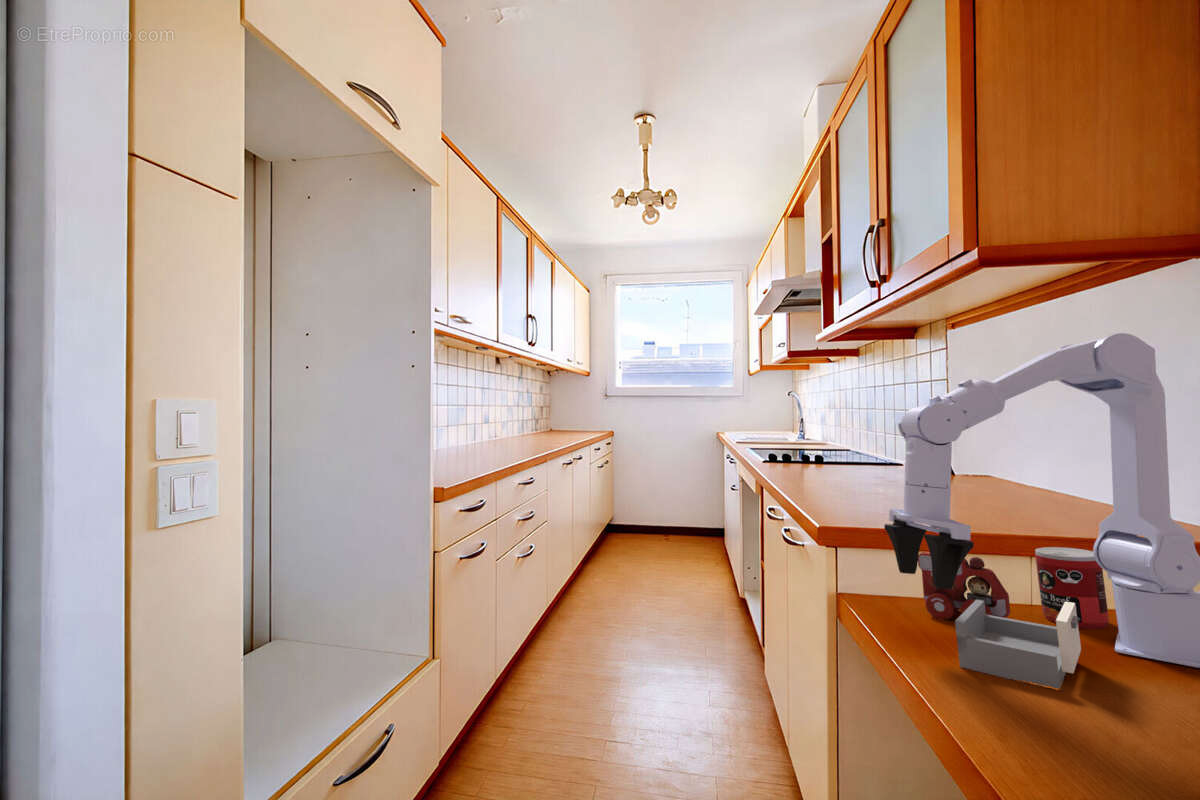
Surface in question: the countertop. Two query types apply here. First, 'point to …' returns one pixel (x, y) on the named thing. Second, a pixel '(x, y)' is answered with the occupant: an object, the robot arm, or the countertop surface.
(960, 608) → the toy fire truck
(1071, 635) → the panel
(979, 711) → the countertop surface
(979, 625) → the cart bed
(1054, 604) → the canned food
